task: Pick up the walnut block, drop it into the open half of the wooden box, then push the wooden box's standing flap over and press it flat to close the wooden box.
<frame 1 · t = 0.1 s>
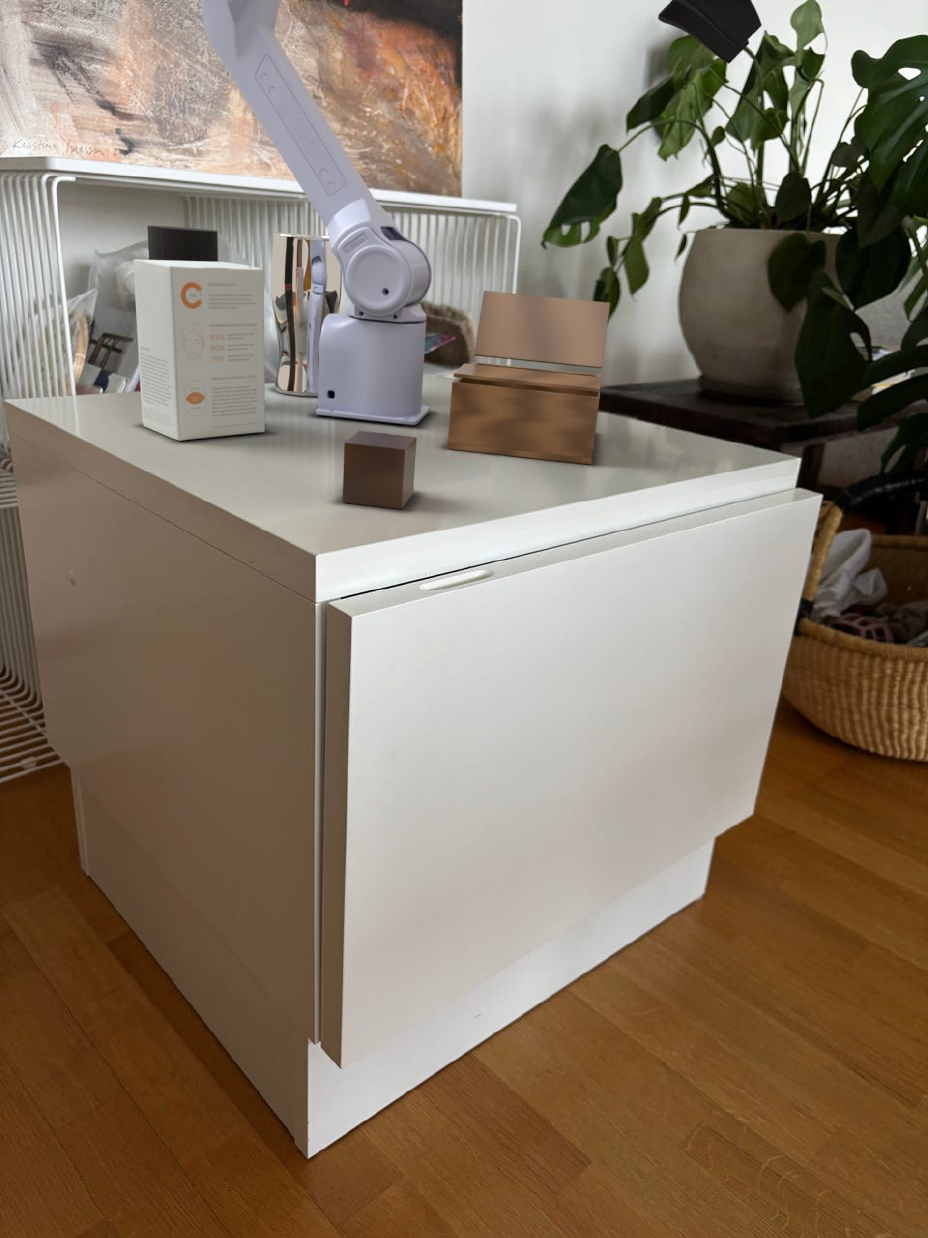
hand: (744, 45, 76), 32 cm above the cabinet top, tool tilted 50°, fingers open, 7 cm apart
flap: (542, 329, 90), point 9 cm above the cabinet top, hinge at 120.0°
small box: (203, 432, 80), on the cabinet top
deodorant: (187, 402, 91), on the cabinet top
wooden box: (524, 440, 86), on the cabinet top
block: (378, 498, 65), on the cabinet top
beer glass: (304, 392, 100), on the cabinet top
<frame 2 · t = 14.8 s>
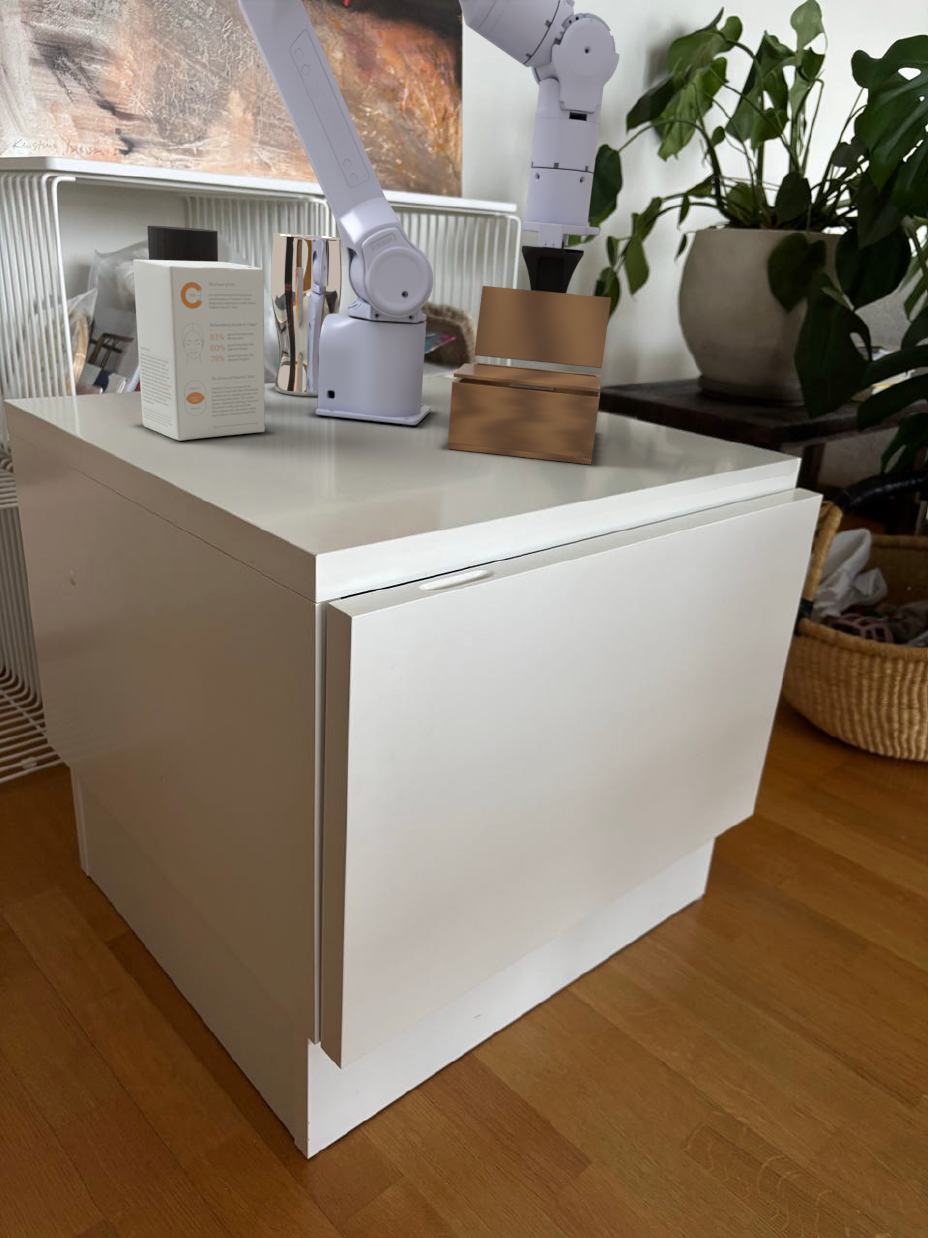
hand: (544, 327, 92), 9 cm above the cabinet top, tool pointing down, fingers closed
flap: (542, 326, 89), point 9 cm above the cabinet top, hinge at 108.0°, touching gripper
block: (527, 428, 89), resting on wooden box
everything else where it was.
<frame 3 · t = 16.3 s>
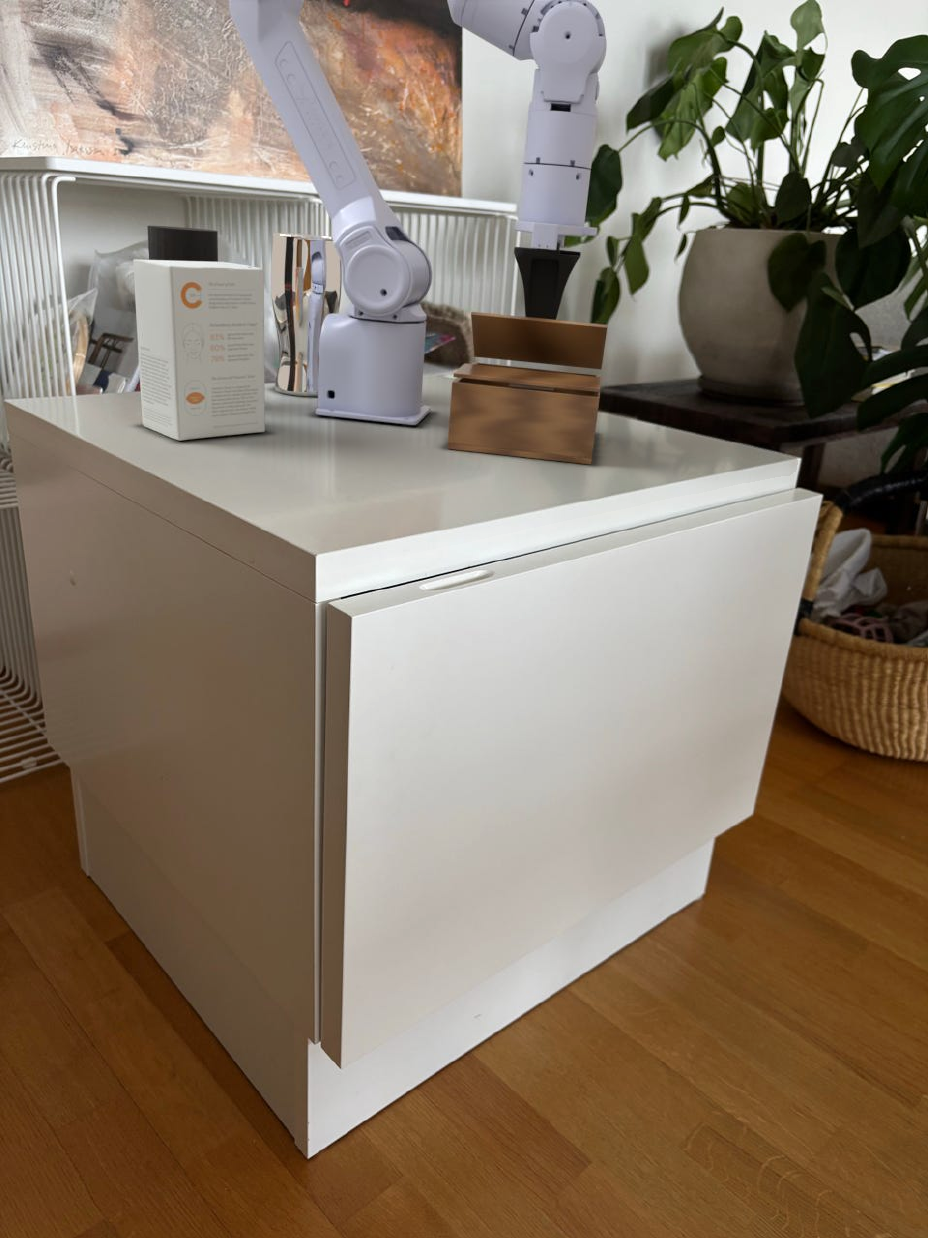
hand: (539, 334, 87), 9 cm above the cabinet top, tool pointing down, fingers closed
flap: (538, 341, 87), point 8 cm above the cabinet top, hinge at 41.1°, touching gripper
everything else where it was.
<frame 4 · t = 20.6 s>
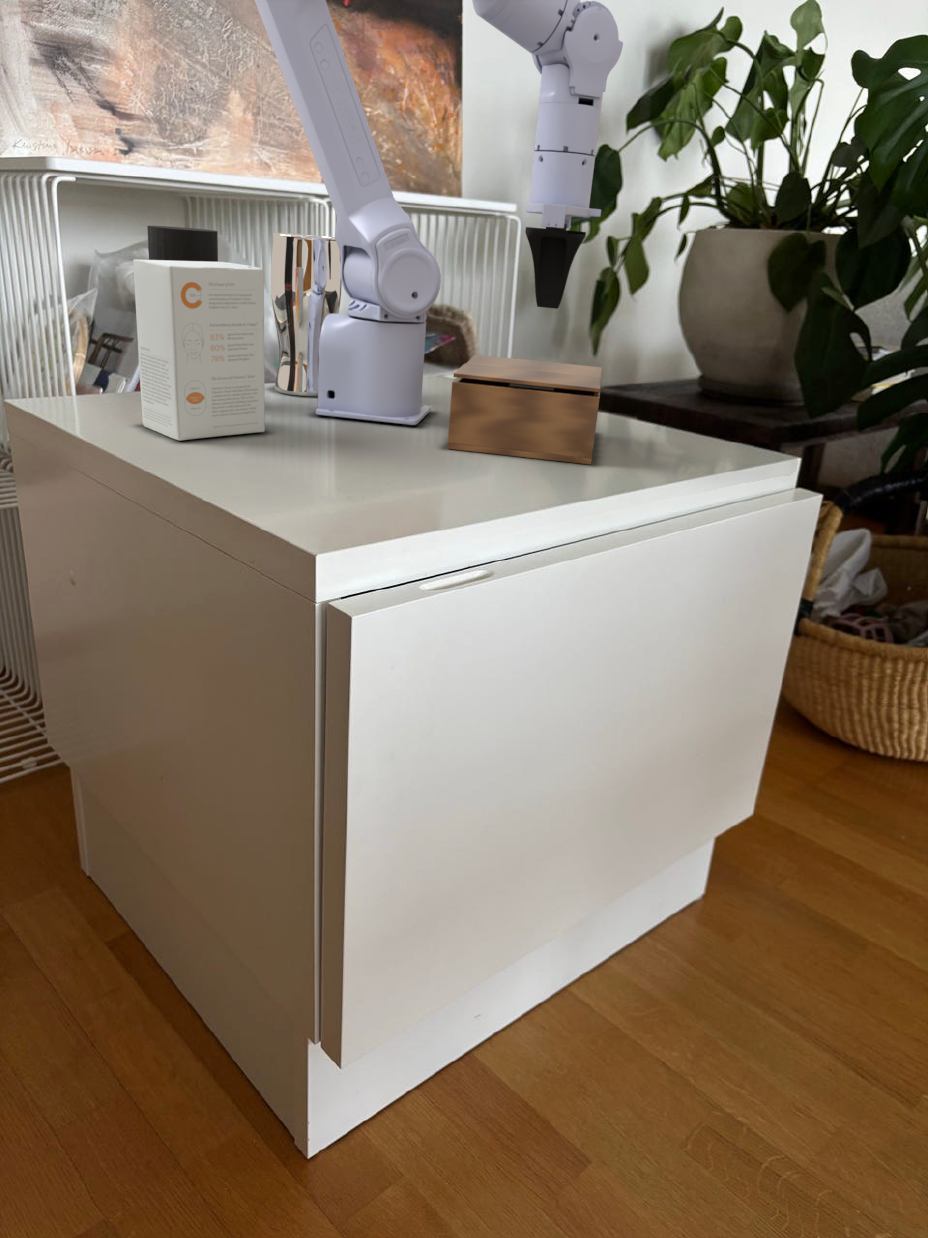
hand: (547, 307, 95), 10 cm above the cabinet top, tool pointing down, fingers closed
flap: (534, 367, 87), point 6 cm above the cabinet top, hinge at -1.4°
everything else where it was.
at the end: block inside the target area in the wooden box (3.0 cm from its centre), point 0.5 cm above the wooden box's base; flap at -1° (first picture: +120°) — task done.
